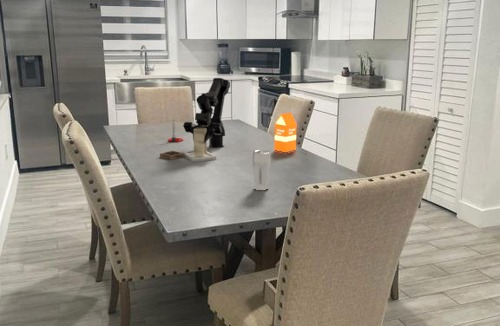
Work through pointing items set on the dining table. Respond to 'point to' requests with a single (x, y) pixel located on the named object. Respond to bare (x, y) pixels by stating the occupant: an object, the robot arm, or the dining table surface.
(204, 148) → the tan wooden block
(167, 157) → the walnut collar
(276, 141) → the orange juice
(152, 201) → the dining table surface
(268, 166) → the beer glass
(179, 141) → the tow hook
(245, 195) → the dining table surface
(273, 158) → the dining table surface
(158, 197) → the dining table surface
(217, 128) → the robot arm
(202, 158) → the tray
